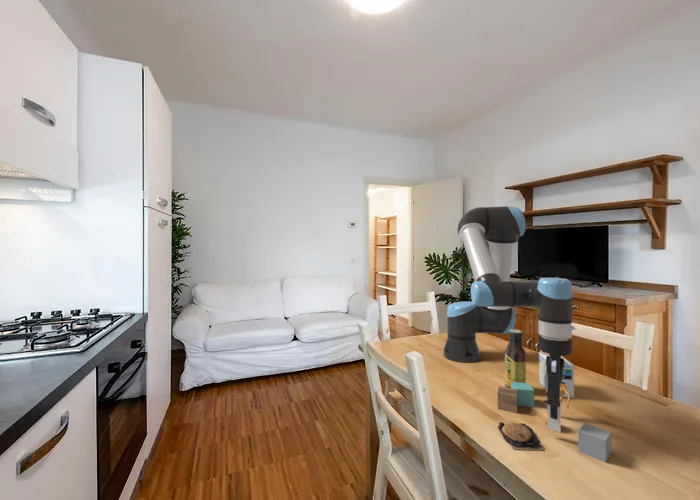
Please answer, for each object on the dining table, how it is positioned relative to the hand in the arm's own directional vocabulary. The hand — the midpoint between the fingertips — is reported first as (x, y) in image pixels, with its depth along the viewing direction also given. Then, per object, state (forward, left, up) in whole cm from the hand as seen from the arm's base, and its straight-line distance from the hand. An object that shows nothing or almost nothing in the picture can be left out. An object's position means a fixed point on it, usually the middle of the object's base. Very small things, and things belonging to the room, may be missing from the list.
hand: (555, 419), depth 84 cm
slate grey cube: (+7, +8, -2) cm, 11 cm away
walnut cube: (-4, -12, -2) cm, 13 cm away
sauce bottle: (-18, -12, -2) cm, 22 cm away
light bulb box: (-25, -1, -2) cm, 25 cm away
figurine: (0, 0, -2) cm, 2 cm away
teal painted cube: (-10, -9, -2) cm, 14 cm away
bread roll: (+10, -7, -3) cm, 13 cm away
